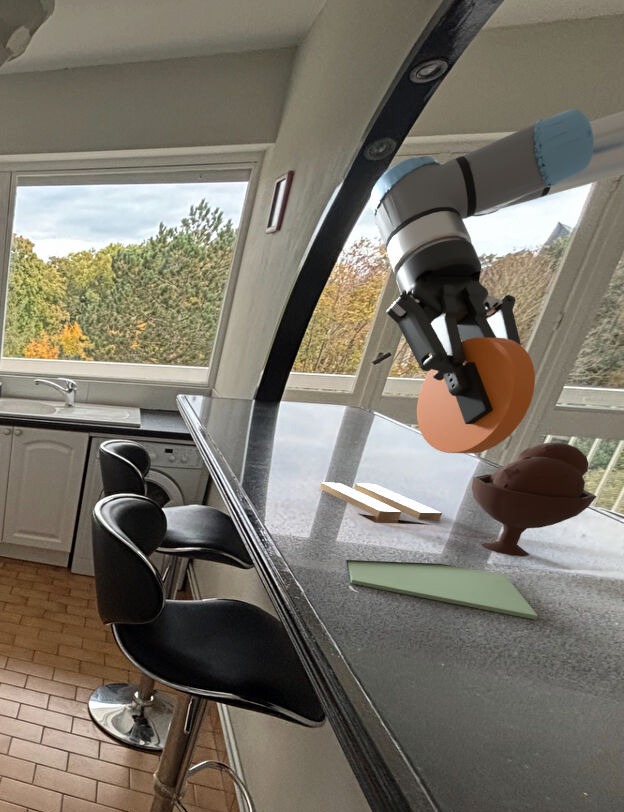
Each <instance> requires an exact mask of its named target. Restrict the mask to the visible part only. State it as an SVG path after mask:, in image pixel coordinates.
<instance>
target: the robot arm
mask: <svg viewBox="0 0 624 812" xmlns="http://www.w3.org/2000/svg"><path fill="white" fill-rule="evenodd" d="M623 175H624V110H622V111H620V112H619V111H618V112H616V113H613V114H609V115H607V116H604V117H601V118H598V119H597V118H596V119H593V120H591V121H590V120H589V118H588V116H587V114H585V112H584V111H582V110H580V109H577V108H575V109H574V108H573V109H568V110H565V111H563V112H561V113H558V114H556V115H553V116H550V117H547V118H545V119H540V120H537V121H536V122H535V123H534V124H530V125H529V126H527V127H524V128H522V129H519V130H517V131H515V132H513V133H511V134H509V135H506V136H504V137H502V138H499V139H498V140H495V141H492V142H490V143H488V144H486V145H484V146H482V147H480V148H477V149H475V150H473V151H471V152H469V153H465V154H464V155H460V156H458V157H455V158H453V159H452V158H451V159H450V160H447V161H446V162H443V163H441V162H439V161H438V160H437V159H436V158H434V157H432V156H429V155H423V156H419V157H418V156H417V157H409V158H406V159H405V160H402V161H400V162H398V163H396V164H395V165H393V166H392V167H390V168H389V169H388V170H387V171H385V172H384V173H383V174H382V175H381V176H380V177H379V179H378V180H377V181H376V182H375V183H374V186H373V188H372V190H371V193H370V199H369V200H370V205H371V208H372V212H373V217H374V223H375V225H376V226H377V229H378V231H379V234H380V238H381V240H382V242H383V245H384V248H385V251H386V254H387V257H388V260H389V262H390V266H391V268H392V271H393V274H394V276H395V277H396V278H395V280H396V281H395V282H396V284H397V287H398V290H399V293H400V295H399V296H398V297H397V298H396V300H395V301H393V303H392V304H391V305H390V306H388V308H387V309H386V311H385V312H386V314H387V315H388V316H389V317H390V318H391V319H392V320H393V321H394V322H395V323H396V324H397V326H398V328H399V329H400V332H401V334H402V335H403V337H404V340H405V341H406V343H407V345H408V347H409V348H410V351H411V353H412V354H413V357H414V358H415V360H416V362H417V364H418V367H419V368H420V370H422V371H423V372H429V371H430V370H431V369H433V370H436V371H438V372H437V373H435V374H434V375H433V377H434V378H435V379H436V380H443V379H445V381H446V384H447V387H448V390H449V392H450V394H451V395H452V396H456V399H457V402H458V405H459V408H460V410H461V413H462V416H463V419H464V422H465V424H474V423H475V422H477V421H478V420H480V419H481V418H482V417H484V416H485V415H487V414H488V413H490V412H491V411H493V408H492V406H491V403H490V401H489V398H488V396H487V393H486V390H485V388H484V385H483V383H482V380H481V377H480V375H479V372H478V370H477V367H476V364H475V362H468V363H466V364H465V365H464V366H463V363H464V362H465V355H464V351H463V346H462V341H465V340H468V339H471V338H478V337H479V338H506V339H510V340H512V341H515V342H516V343H518V344H520V345H521V346H522V344H521V339H520V334H519V331H518V326H517V322H516V318H515V314H514V311H513V310H514V307H515V304H516V297H514V296H513V295H511V294H505V296H503V297H502V298H501V299H500V298H497V297H494V296H491V295H489V291H488V288H486V287H485V286H484V285H482V283H481V281H480V280H481V279H480V278H481V273H482V267H483V266H482V263H481V259H480V258H479V255H478V253H477V250H476V248H475V247H474V245H473V243H472V238H471V235H470V234H469V233H470V232H469V231H468V228H467V226H466V225H465V223H464V220H466V219H468V218H470V217H482V216H483V217H484V216H486V215H490V214H493V213H496V212H498V211H499V210H502V209H505V208H510V207H513V206H517V205H519V204H523V203H527V202H531V201H534V200H538V199H540V198H543V197H548V196H551V195H554V194H557V193H562V192H564V191H565V192H566V191H569V190H572V189H576V188H580V187H583V186H587V185H590V184H593V183H598V182H602V181H605V180H609V179H612V178H616V177H620V176H623ZM430 354H431V355H430Z"/></svg>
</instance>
